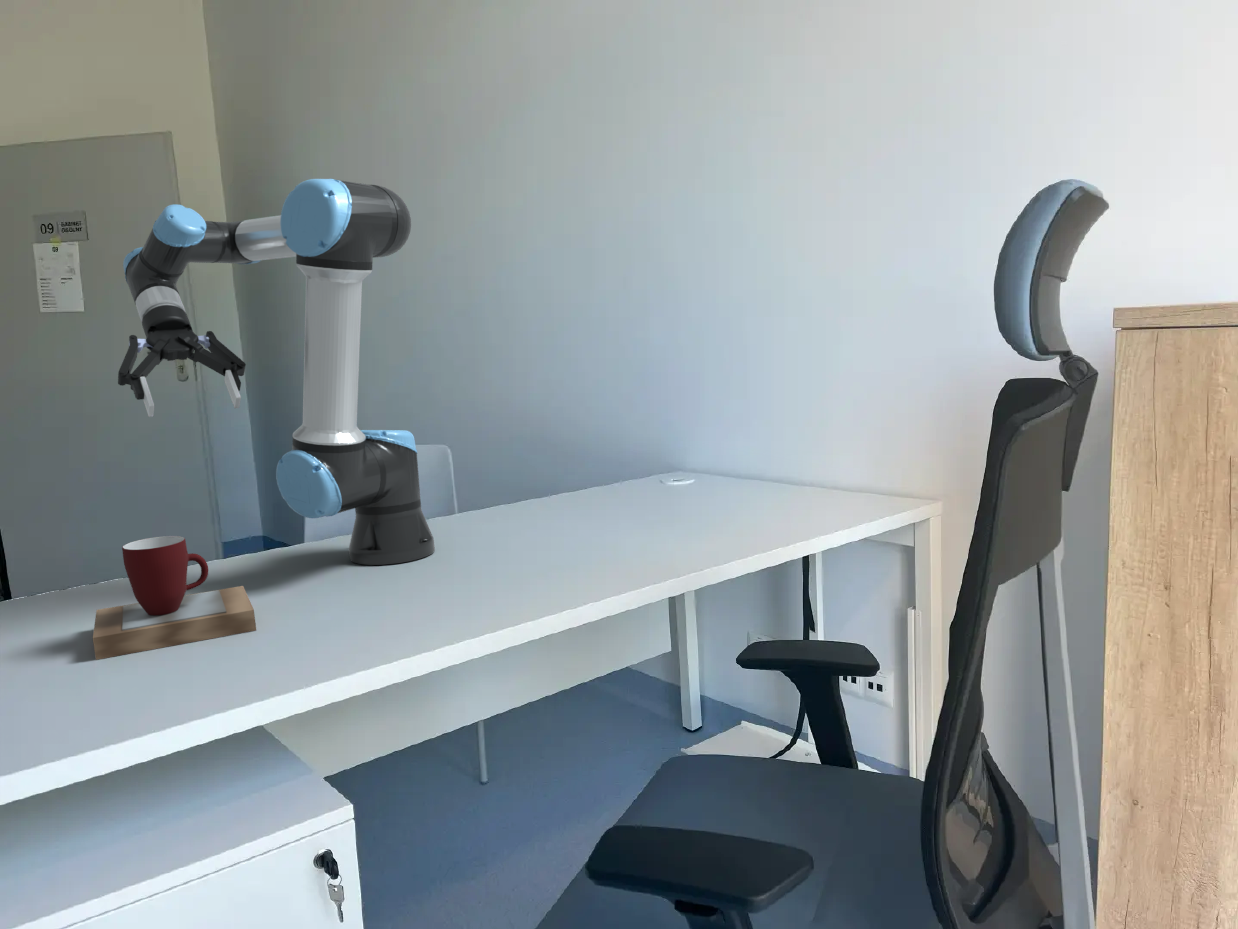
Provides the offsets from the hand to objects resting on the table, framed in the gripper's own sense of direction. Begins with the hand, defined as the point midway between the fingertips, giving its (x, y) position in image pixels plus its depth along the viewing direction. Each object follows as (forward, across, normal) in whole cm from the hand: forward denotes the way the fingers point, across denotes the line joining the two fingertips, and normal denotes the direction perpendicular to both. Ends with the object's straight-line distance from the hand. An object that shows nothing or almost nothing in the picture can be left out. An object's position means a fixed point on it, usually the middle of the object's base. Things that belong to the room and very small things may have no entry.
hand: (195, 407), depth 161 cm
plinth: (+39, +12, -3) cm, 41 cm away
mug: (+37, +12, 0) cm, 39 cm away
